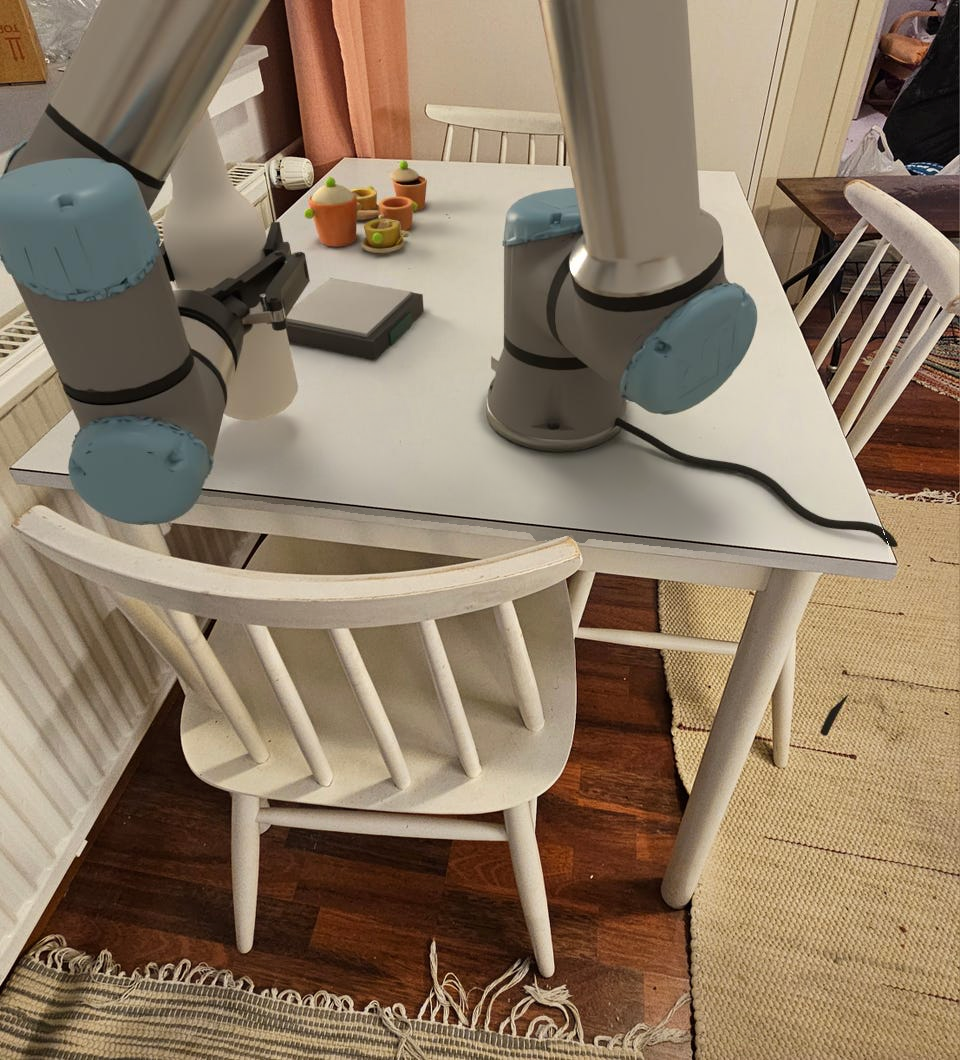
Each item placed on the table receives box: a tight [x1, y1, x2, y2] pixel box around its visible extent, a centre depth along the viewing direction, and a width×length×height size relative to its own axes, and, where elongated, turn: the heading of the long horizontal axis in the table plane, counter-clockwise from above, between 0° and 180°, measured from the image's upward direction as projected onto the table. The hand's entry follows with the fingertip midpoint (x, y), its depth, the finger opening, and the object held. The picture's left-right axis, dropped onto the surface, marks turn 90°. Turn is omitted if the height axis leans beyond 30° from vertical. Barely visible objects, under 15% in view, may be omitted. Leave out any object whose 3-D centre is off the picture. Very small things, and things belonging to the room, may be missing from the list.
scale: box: [286, 277, 425, 361], centre depth 98 cm, size 14×14×3 cm
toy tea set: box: [303, 160, 428, 254], centre depth 122 cm, size 26×16×10 cm, turn 168°
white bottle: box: [161, 107, 299, 421], centre depth 68 cm, size 9×9×30 cm
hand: (228, 239), depth 72 cm, fingers closed on white bottle, 9 cm apart
